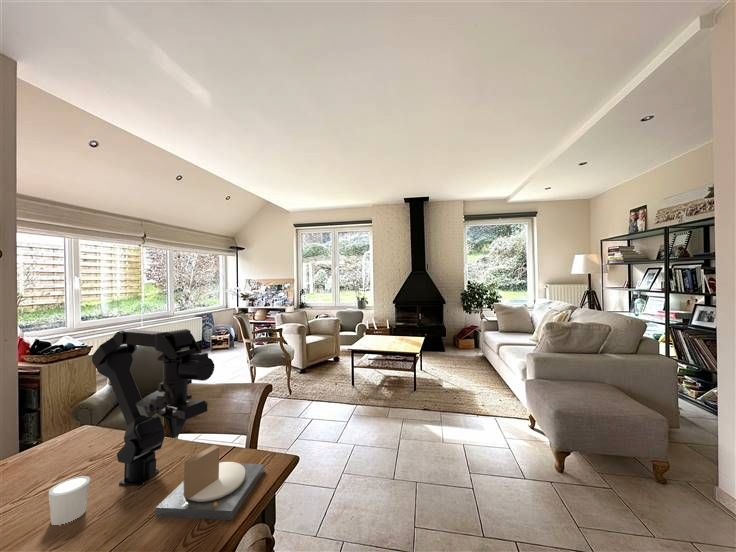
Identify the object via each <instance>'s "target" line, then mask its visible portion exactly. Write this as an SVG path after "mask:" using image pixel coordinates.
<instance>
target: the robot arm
mask: <svg viewBox="0 0 736 552" xmlns="http://www.w3.org/2000/svg"><path fill="white" fill-rule="evenodd" d="M137 346H138V347H148V348H149V347H150V348H153V349H154V350H155V351H156V352H159V353H161V355H160V356H158V357H157V361H158V362H162V382H159V383H158V385H157V390H156V391H154V392H151V393H150V394H148V395H147V396H145V397H142V396H141V393H140V390H139V388H138V386H137V384H136V381H135V378H134V376H133V373H132V371H131V368H132V365H133V361H134V357H133V355H134V354H135V352H137V349H138V347H137ZM91 361H92V362H91V363H92V364H93V365H94V367H95V369H96V371H97V372H98V374H101V376H104V377H105V378H107V379H108V380H109V382H110V385H111V387H112V389H113V393H114V395H115V398H116V401H117V404H118V405H119V409H120V410H121V413H122V416H123V418H124V420H125V424H126V428H125V429H126V430H125V432H124V436H123V440H124V441H123V442H124V445H123V446H122V447H121V449H119V450H118V452H117V453H116V457H117V462H118V463H121V464H124V472H123V473H124V474H123V475H124V476H123V479H121V480H120V481H119V482H118V485H120V486H140V487H141V486H143V485H144V484H145V483H146V482H147V481H149V480H150V479H152V477H154V476H155V475H156V474H158V473H159V471H160V469H159V468H157V458H156V451H158V450H160V449H162V446H163V443H164V441H165V436H166V431H165V429H166V427H165V426H164V425H163V424H162V419H161V417H162V418H164V419H165V423H166V424H167V427H168V430H169V432H170V436H171V438H173V439H176V438H178V437H179V436H180V434H181V431H182V429H183V427H184V425H185V423H186V421H187V420H189V419H192V418H193V417H196V416H199V415H201V414H204V413H207V412H208V411H209V402H207V401H206V400H203V399H200V398H195V399H193V397H192V396H193V395H192V394H190V393H189V385H191V384H192V383H193V381H202V382H203V381H208V380H209V379H210V378H211V377H212V375H213V374H214V371H215V363H214V360H213V359H212V358H210V357H209V353H208V352H202V350H201V348H200V346H199V344H198V342H197V341H196V339H195V337H194V335H193V334H192V333H191V330H190V329H187V328H184V329H183V328H182V329H178V330H169V331H156V330H155V331H154V330H153V331H152V330H143V329H142V330H141V329H137V328H132V329H131V328H130V329H121V330H119V331H117V332H116V333H114V335H113V336H112V337H111V338H109V339H108V340H106V341H104V342H103V343H101V344H100V345H99V346H98V347H97V349H96V350H95V351H94V352H93V354H92V356H91ZM156 414H157V416H156ZM158 415H159V416H158ZM154 416H155V417H154ZM160 416H161V417H160Z"/></svg>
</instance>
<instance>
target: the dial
mask: <svg viewBox="0 0 736 552" xmlns="http://www.w3.org/2000/svg"><path fill="white" fill-rule="evenodd" d="M183 464H184V465H183V468H184V469H183V481H184V497H186V498H188V499H189V500H192V501H197V502H205V501H211V500H215V499H219V498H222V497H224V496H226V495H228V494H230V493H232V492H233V491H235V490H236V489H237V488H238V487H239V486H240V485H241V484H242V483H243V481H244V479H245V468H244V467H243V466H242V465H241V464H239V462H236V461H235V462H234V461H222V462H220V446H219V445H218V446H217V445H215V444H213V445H212V446H209V447H208V448H206V449H204V450H202V451H201V452H199V453H196V454H195V455H193V456H191V457H189V458H188V459H186V460H184V463H183Z"/></svg>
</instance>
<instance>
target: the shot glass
mask: <svg viewBox="0 0 736 552" xmlns="http://www.w3.org/2000/svg"><path fill="white" fill-rule="evenodd" d="M90 483H91V477H89V476H87V475H86V476H85V475H84V476H83V475H80V476H75V477H72V478H68V479H65V480H63V481H61V482H59V483H57V484H56V485H54V486H52V487H51V488H50V489H49V490H48V500H49V503H48V505H49V514H50V525H52V526H53V525H59V526H62V525H61V524H64V525H66V524H65V523H67V524H69V523H68V522H70V523H72V522H74V521H76V520H78V519H79V518H80V517H82V516H83V515H84V514H85V512H86V508H87V503H88V497H89V489H90ZM77 518H78V519H77ZM75 519H76V520H75ZM73 520H74V521H73ZM71 521H72V522H71Z"/></svg>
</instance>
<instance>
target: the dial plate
mask: <svg viewBox="0 0 736 552" xmlns="http://www.w3.org/2000/svg"><path fill="white" fill-rule="evenodd" d="M238 463H239V462H238ZM239 464H241V465H242V466H243V467H244V468H245V479H244V481H243V483H242V484H241V485H240V486H239V487H238V488H237V489H236V490H235V491H233V492H232V493H230V494H228V495H226V496H224V497H222V498H219V499H215V500H211V501H205V502H197V501H192V500H189V499H188V498H186V497H184V480H182V481H181V483H180V484H179V485H178V486H176V488H175V489H173V491H172V492H170V493H169V494H168V495H167V496H166V497H165V498H164V499H163V500H162V501H161V502H160V503H158V504H157V506H156V507H155V516H154V517H157V518H176V519H177V518H179V519H181V518H182V519H198V520H199V519H200V520H222V521H232V520H233V519H234V517H235V515H237V513H238V511H239V510H240V508H241V507H242V505H243V504H244V502H245V501H246V499H247V498H248V496H249V494H250V493H251V492H252V490H253V489H254V487H255V486H256V484H257V483H258V481H259V480H260V478H261V477H262V475H263V474H264V473H265V464H264V463H239Z"/></svg>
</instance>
